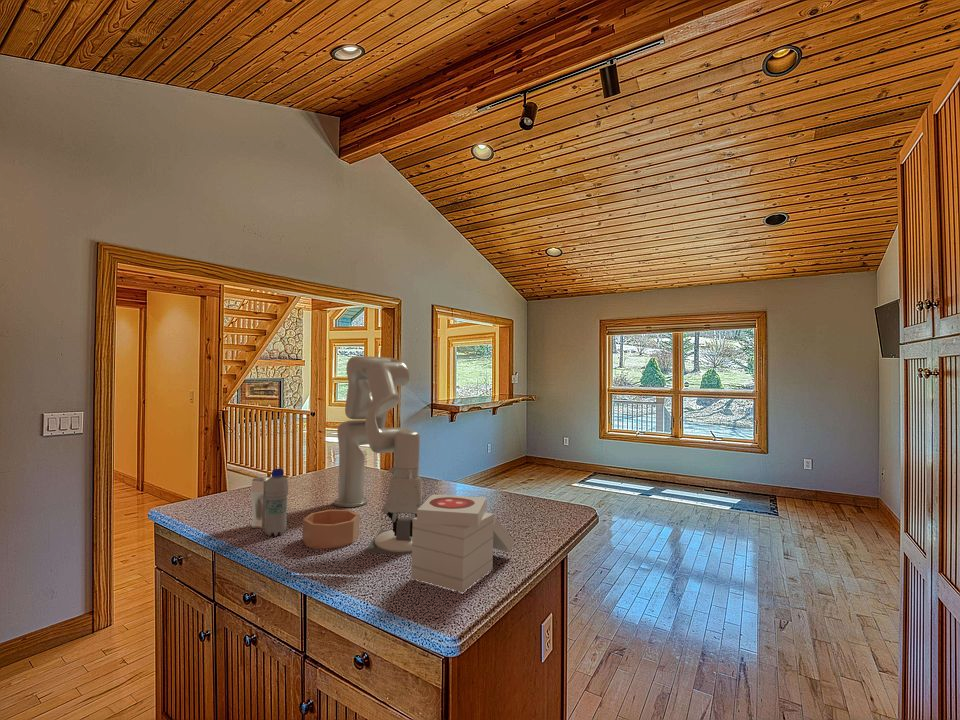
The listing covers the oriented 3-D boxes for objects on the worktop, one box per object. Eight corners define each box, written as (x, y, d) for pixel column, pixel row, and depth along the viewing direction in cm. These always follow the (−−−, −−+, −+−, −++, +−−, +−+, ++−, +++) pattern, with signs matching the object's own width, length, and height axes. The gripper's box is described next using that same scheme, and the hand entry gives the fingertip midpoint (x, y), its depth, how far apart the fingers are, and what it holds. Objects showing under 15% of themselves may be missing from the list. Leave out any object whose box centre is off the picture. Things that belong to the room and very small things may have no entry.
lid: (383, 530, 149) (383, 510, 149) (436, 533, 148) (437, 512, 148) (367, 551, 132) (368, 527, 132) (428, 553, 131) (428, 530, 131)
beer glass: (264, 529, 149) (265, 482, 149) (244, 527, 150) (246, 480, 151) (277, 523, 156) (279, 477, 156) (259, 521, 157) (260, 476, 157)
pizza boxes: (520, 556, 132) (521, 491, 132) (464, 600, 106) (466, 519, 106) (461, 543, 141) (463, 482, 142) (397, 580, 115) (399, 506, 116)
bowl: (316, 531, 149) (317, 509, 149) (363, 533, 148) (363, 510, 148) (295, 549, 134) (296, 524, 134) (347, 551, 133) (348, 526, 133)
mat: (380, 531, 150) (380, 529, 150) (440, 534, 149) (440, 532, 149) (363, 554, 131) (363, 552, 131) (431, 557, 130) (431, 555, 130)
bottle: (291, 531, 148) (294, 467, 148) (276, 538, 141) (278, 471, 142) (274, 529, 150) (276, 465, 150) (258, 535, 144) (260, 469, 144)
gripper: (375, 474, 137) (373, 538, 136) (432, 476, 136) (430, 540, 136) (381, 469, 145) (379, 529, 144) (435, 471, 144) (434, 531, 143)
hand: (404, 534), depth 140 cm, fingers closed on lid, 4 cm apart
